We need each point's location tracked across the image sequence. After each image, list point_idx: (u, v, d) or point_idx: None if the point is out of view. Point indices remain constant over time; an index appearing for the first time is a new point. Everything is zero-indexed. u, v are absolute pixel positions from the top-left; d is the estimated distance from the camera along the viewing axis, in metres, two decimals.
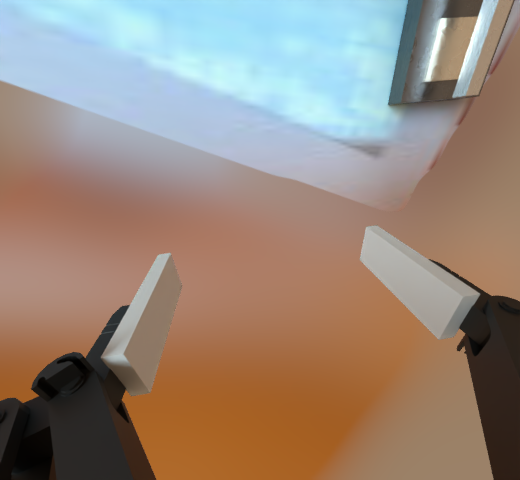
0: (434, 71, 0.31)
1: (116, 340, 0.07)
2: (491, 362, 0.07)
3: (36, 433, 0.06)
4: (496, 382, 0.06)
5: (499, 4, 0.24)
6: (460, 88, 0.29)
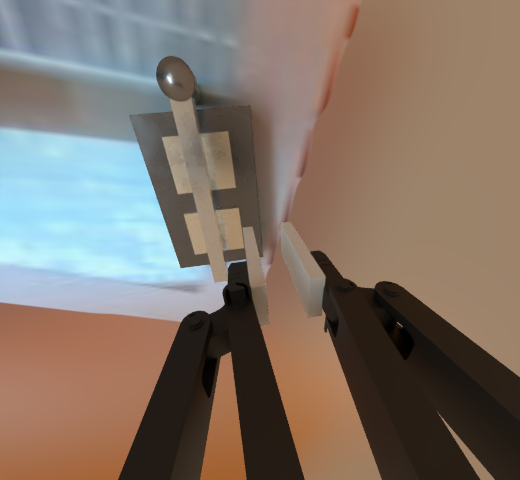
0: (200, 247, 0.32)
1: (254, 278, 0.10)
2: (345, 343, 0.08)
3: (223, 332, 0.08)
4: (352, 362, 0.07)
5: (203, 228, 0.26)
6: None
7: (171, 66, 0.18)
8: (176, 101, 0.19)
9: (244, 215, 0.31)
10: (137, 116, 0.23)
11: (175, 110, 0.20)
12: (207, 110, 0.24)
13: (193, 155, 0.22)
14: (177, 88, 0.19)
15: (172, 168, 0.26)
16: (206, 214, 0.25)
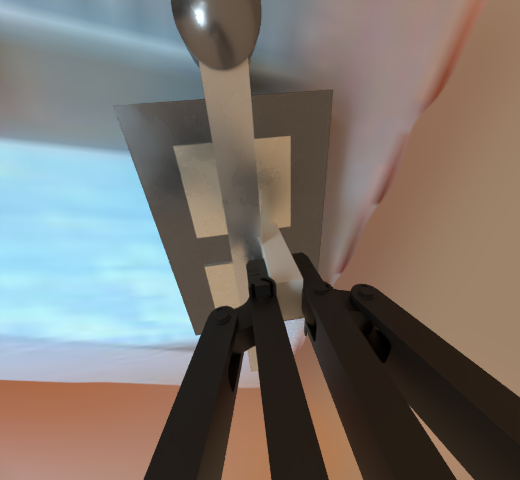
0: None
1: (275, 274, 0.10)
2: (323, 347, 0.08)
3: (249, 327, 0.08)
4: (331, 366, 0.07)
5: (243, 303, 0.15)
6: None
7: None
8: (214, 69, 0.08)
9: None
10: (128, 108, 0.13)
11: (210, 91, 0.09)
12: (257, 98, 0.13)
13: (239, 185, 0.11)
14: (220, 35, 0.08)
15: (190, 198, 0.15)
16: None
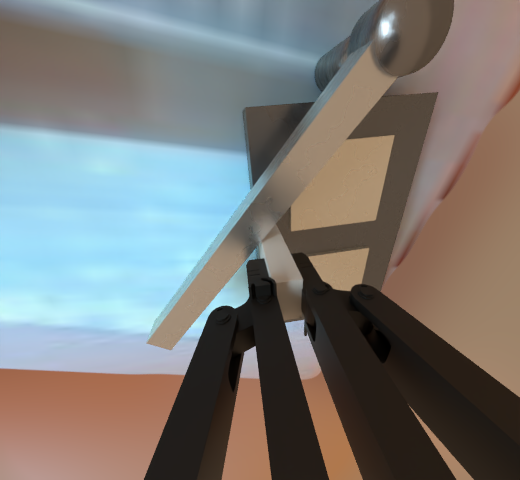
0: None
1: (275, 274, 0.10)
2: (323, 347, 0.08)
3: (250, 327, 0.08)
4: (331, 366, 0.07)
5: (211, 264, 0.13)
6: (156, 323, 0.16)
7: None
8: (377, 58, 0.09)
9: (370, 256, 0.21)
10: (258, 109, 0.14)
11: (359, 68, 0.09)
12: None
13: (309, 157, 0.11)
14: (402, 41, 0.09)
15: None
16: (235, 248, 0.13)
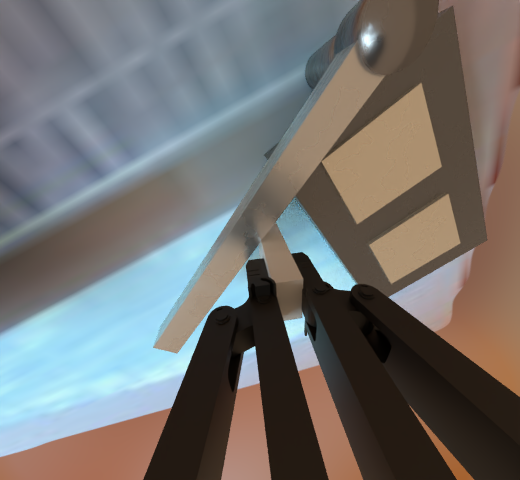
0: (397, 272, 0.22)
1: (275, 274, 0.10)
2: (323, 347, 0.08)
3: (249, 327, 0.08)
4: (331, 366, 0.07)
5: (209, 270, 0.13)
6: (162, 327, 0.17)
7: None
8: (362, 58, 0.09)
9: (454, 199, 0.19)
10: None
11: (345, 70, 0.09)
12: None
13: (299, 161, 0.11)
14: (387, 40, 0.08)
15: (344, 195, 0.17)
16: (232, 254, 0.13)
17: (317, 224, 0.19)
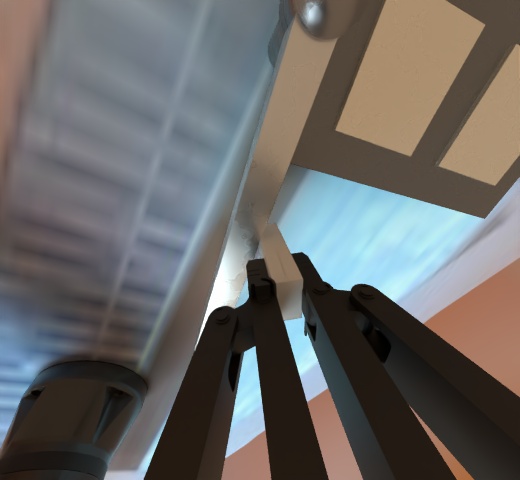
0: (496, 169, 0.18)
1: (275, 274, 0.10)
2: (323, 347, 0.08)
3: (249, 327, 0.08)
4: (331, 366, 0.07)
5: (221, 277, 0.14)
6: (197, 336, 0.18)
7: None
8: (306, 30, 0.08)
9: None
10: (294, 151, 0.15)
11: (292, 48, 0.09)
12: None
13: (274, 153, 0.11)
14: (327, 2, 0.08)
15: (378, 141, 0.15)
16: (237, 257, 0.13)
17: (366, 183, 0.17)
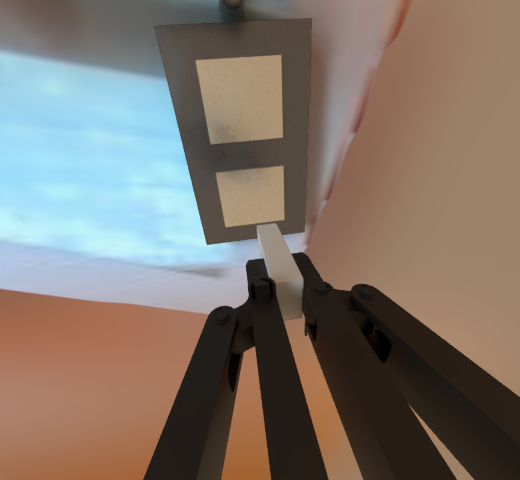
0: (233, 217, 0.26)
1: (275, 274, 0.10)
2: (324, 347, 0.08)
3: (249, 327, 0.08)
4: (331, 366, 0.07)
5: None
6: None
7: None
8: None
9: (288, 176, 0.25)
10: (164, 28, 0.18)
11: None
12: (256, 23, 0.18)
13: None
14: None
15: (206, 107, 0.20)
16: None
17: (178, 122, 0.21)
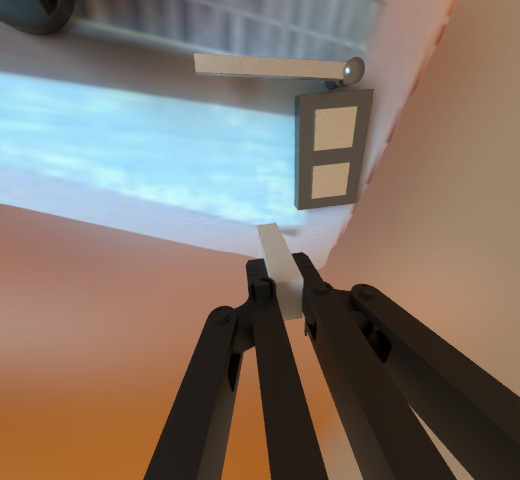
0: (317, 192, 0.45)
1: (275, 274, 0.10)
2: (323, 347, 0.08)
3: (249, 327, 0.08)
4: (331, 366, 0.07)
5: (258, 59, 0.29)
6: None
7: (360, 70, 0.31)
8: (344, 67, 0.31)
9: (351, 168, 0.44)
10: (304, 95, 0.36)
11: (340, 64, 0.31)
12: (347, 92, 0.37)
13: (314, 69, 0.31)
14: (350, 70, 0.31)
15: (316, 131, 0.39)
16: (270, 66, 0.30)
17: (299, 139, 0.40)
